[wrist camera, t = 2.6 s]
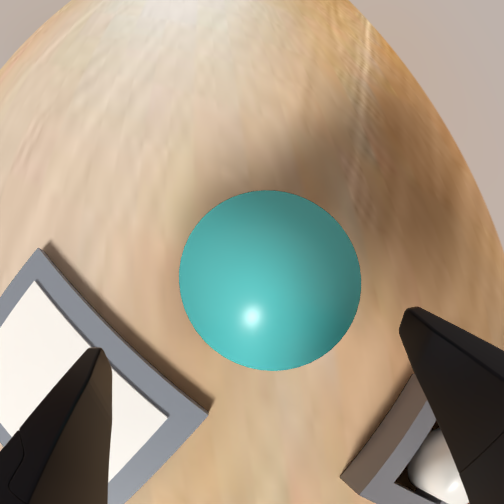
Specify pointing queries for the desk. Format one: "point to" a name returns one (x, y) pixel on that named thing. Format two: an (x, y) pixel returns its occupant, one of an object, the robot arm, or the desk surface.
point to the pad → (66, 354)
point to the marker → (270, 280)
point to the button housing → (394, 451)
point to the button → (437, 470)
